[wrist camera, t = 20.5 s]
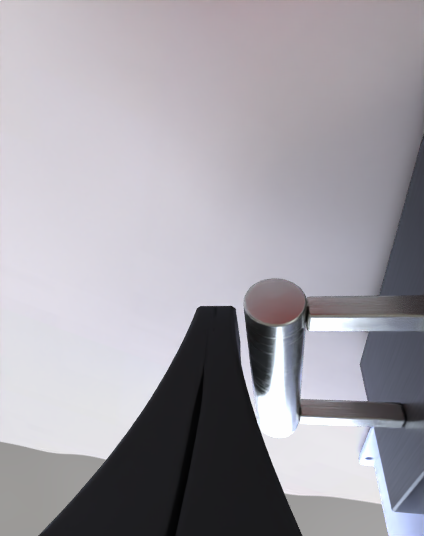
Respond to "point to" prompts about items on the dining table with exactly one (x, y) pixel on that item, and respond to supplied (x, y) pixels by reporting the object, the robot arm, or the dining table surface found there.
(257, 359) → the tray drawer
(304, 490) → the dining table surface
